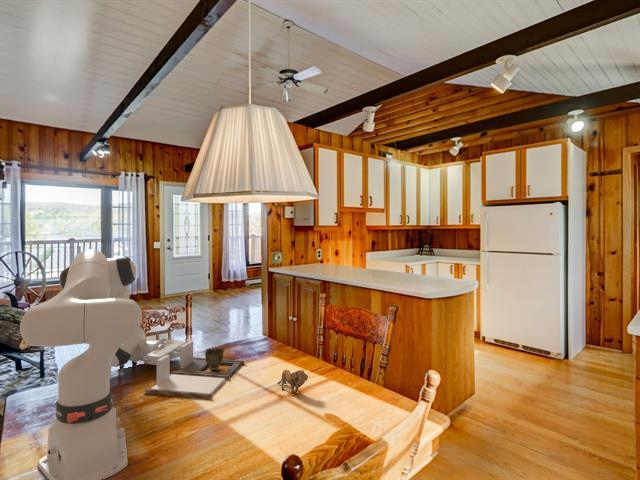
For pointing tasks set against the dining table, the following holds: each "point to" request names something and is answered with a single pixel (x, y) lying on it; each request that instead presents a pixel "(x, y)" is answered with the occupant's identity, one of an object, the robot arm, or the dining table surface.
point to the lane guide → (190, 394)
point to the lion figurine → (293, 379)
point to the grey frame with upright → (200, 362)
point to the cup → (214, 358)
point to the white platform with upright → (183, 380)
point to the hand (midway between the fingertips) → (185, 353)
